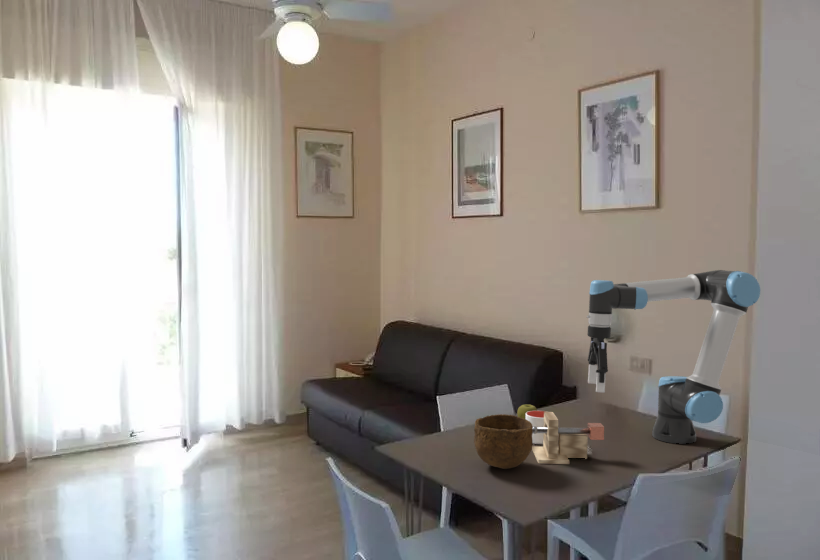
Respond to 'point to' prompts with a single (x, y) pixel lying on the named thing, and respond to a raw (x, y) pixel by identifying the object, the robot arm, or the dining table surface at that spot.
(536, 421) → the cup
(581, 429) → the metal rod with block
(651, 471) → the dining table surface
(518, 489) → the dining table surface
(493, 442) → the bowl
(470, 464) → the dining table surface
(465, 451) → the dining table surface
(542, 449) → the slotted wooden stand
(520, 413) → the apple
